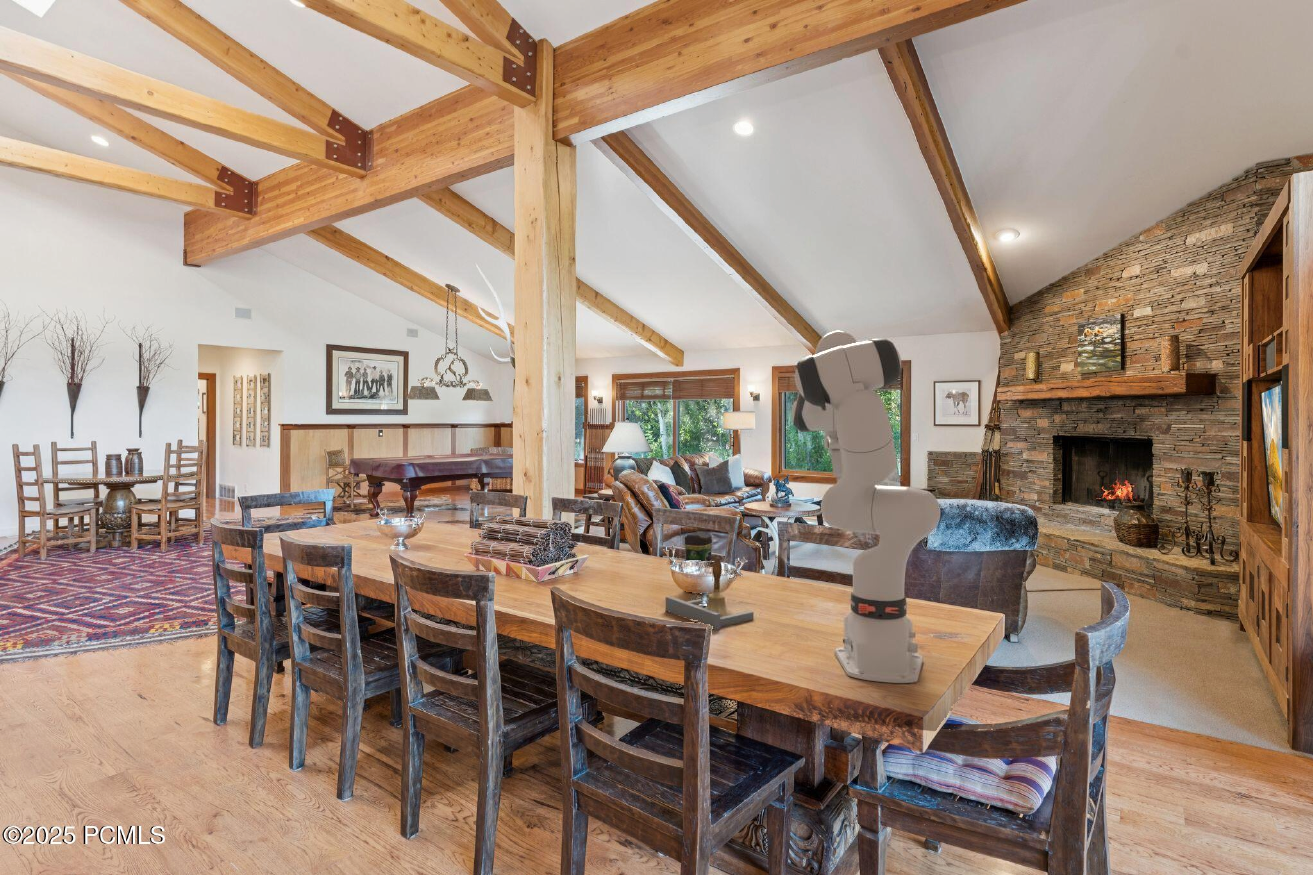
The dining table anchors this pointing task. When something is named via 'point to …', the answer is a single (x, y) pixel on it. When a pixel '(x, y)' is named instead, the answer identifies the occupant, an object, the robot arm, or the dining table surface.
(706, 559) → the coffee jar
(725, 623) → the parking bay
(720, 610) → the hand bell
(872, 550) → the robot arm
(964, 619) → the dining table surface
